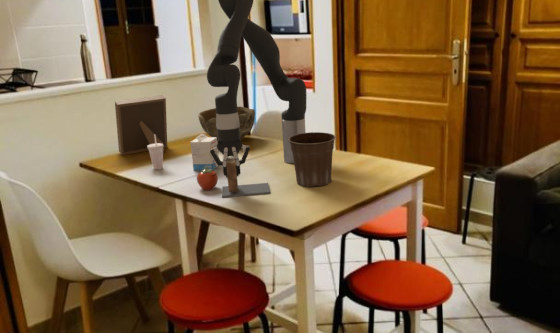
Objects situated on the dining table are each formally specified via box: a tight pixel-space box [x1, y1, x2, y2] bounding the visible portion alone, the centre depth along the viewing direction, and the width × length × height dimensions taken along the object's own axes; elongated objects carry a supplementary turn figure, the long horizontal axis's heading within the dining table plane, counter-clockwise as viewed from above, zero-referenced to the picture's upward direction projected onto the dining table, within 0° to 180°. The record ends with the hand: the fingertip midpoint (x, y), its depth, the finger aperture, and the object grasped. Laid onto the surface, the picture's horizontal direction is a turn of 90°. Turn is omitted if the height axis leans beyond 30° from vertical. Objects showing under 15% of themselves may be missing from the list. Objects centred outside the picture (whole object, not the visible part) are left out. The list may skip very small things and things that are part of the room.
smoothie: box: [147, 134, 164, 170], centre depth 210 cm, size 6×6×14 cm
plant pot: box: [288, 131, 337, 188], centre depth 181 cm, size 16×16×16 cm
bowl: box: [198, 105, 256, 142], centre depth 249 cm, size 28×27×15 cm
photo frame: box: [114, 94, 168, 156], centre depth 236 cm, size 15×22×25 cm
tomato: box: [196, 167, 219, 191], centre depth 182 cm, size 7×7×8 cm
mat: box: [221, 182, 271, 199], centre depth 178 cm, size 16×10×1 cm, turn 95°
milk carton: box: [189, 133, 220, 171], centre depth 207 cm, size 9×8×13 cm
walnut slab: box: [226, 156, 238, 192], centre depth 174 cm, size 3×7×10 cm, turn 5°
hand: (232, 176), depth 176 cm, fingers closed on walnut slab, 3 cm apart
